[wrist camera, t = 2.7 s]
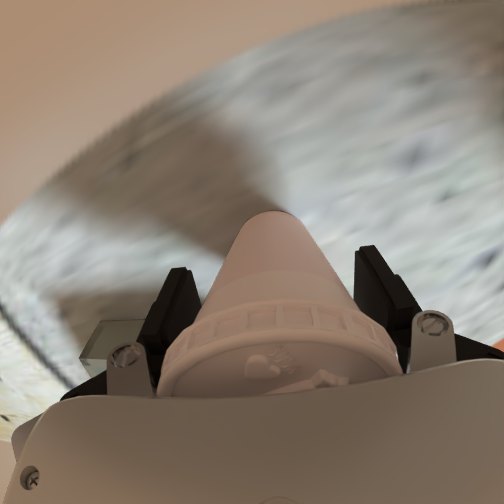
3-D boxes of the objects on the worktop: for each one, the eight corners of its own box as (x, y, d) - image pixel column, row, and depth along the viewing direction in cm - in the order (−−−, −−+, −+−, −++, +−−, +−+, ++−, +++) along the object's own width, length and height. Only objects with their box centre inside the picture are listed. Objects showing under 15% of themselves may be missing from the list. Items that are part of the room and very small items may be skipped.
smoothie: (188, 266, 16) (95, 554, 4) (247, 157, 13) (156, 585, 1) (293, 315, 17) (313, 580, 5) (361, 224, 15) (510, 517, 2)
